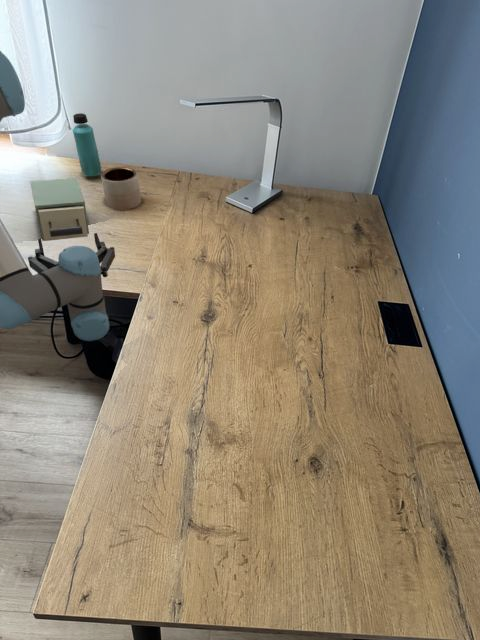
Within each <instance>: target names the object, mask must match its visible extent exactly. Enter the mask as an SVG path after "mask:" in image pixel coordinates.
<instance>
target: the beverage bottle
mask: <svg viewBox="0 0 480 640" xmlns="http://www.w3.org/2000/svg"><path fill="white" fill-rule="evenodd" d="M72 118H73V123H74V124H76V125H75V126H74V127H73V128H72V133H73V138H74V142H75V148H76V152H77V157H78V159H79V160H78V161H79V165H80V170H81V172H82V175H84V176H86V177H97V176H99V175H101V174H102V166H101V165H102V164H101V160H100V156H99V150H98V148H97V147H98V146H97V142H96V138H95V133H94V128H93V127H92V126H91V125H89V124H87V123H88V122H89V121H88V118H87V114H85V113H80V112H79V113H75V114H73V116H72Z"/></svg>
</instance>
